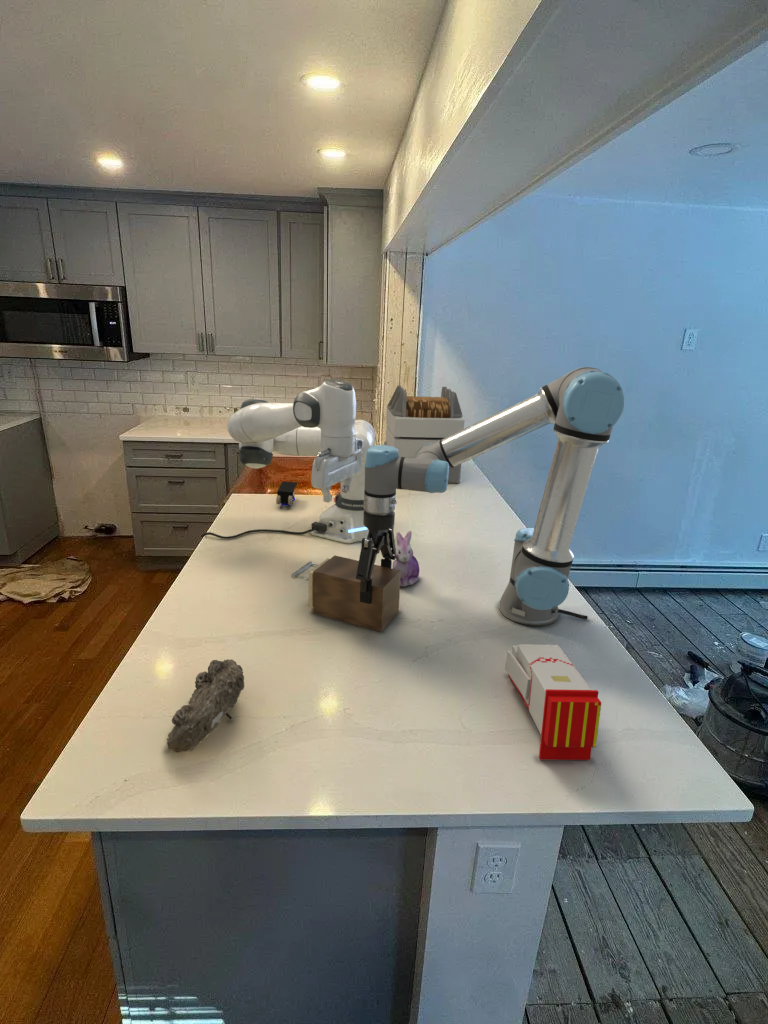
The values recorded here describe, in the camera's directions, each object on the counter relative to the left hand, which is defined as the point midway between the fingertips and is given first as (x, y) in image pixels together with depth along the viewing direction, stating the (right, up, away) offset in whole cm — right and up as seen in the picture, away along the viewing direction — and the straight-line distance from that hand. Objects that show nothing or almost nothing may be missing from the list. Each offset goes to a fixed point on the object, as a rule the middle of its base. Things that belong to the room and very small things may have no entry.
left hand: (337, 496), depth 150 cm
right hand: (+10, -24, -7) cm, 27 cm away
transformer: (+30, +15, +125) cm, 130 cm away
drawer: (0, -28, -1) cm, 28 cm away
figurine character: (-26, -1, +74) cm, 79 cm away
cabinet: (+5, -30, -2) cm, 31 cm away
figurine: (+18, -24, +16) cm, 34 cm away
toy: (+44, -44, -36) cm, 72 cm away
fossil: (-20, -43, -42) cm, 63 cm away
